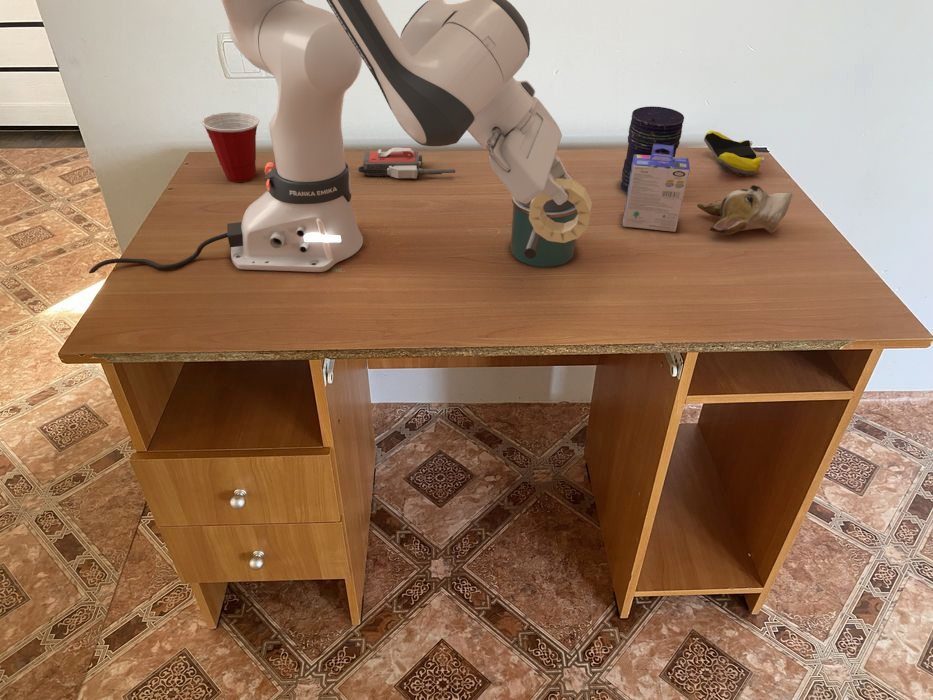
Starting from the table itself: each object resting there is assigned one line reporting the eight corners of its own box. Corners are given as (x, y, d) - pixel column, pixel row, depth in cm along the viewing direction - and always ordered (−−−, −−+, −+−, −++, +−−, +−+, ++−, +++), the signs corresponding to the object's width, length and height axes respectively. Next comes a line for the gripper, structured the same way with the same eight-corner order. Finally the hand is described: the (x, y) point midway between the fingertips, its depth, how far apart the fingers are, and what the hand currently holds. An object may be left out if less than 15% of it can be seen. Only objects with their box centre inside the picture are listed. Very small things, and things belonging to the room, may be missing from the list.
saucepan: (515, 230, 125) (518, 178, 118) (579, 238, 123) (586, 186, 116) (490, 296, 108) (492, 240, 102) (563, 306, 106) (570, 250, 100)
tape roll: (527, 238, 99) (531, 184, 93) (530, 228, 101) (534, 175, 96) (585, 245, 97) (593, 191, 92) (587, 235, 99) (595, 181, 94)
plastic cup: (278, 177, 141) (268, 120, 133) (229, 192, 135) (215, 133, 128) (254, 161, 147) (243, 105, 140) (206, 174, 142) (192, 117, 134)
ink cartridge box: (676, 219, 128) (692, 144, 119) (677, 233, 124) (694, 157, 115) (622, 213, 130) (635, 139, 121) (622, 227, 126) (634, 152, 117)
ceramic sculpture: (805, 198, 116) (715, 200, 117) (793, 243, 121) (706, 245, 122) (785, 171, 124) (701, 174, 125) (774, 215, 130) (693, 217, 131)
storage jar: (629, 174, 144) (641, 102, 134) (675, 185, 140) (691, 112, 130) (612, 192, 137) (623, 118, 127) (660, 204, 133) (675, 129, 124)
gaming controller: (715, 181, 141) (764, 182, 141) (722, 156, 138) (772, 156, 138) (698, 152, 153) (742, 152, 153) (703, 128, 149) (749, 128, 149)
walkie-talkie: (357, 181, 140) (455, 179, 141) (356, 160, 137) (455, 159, 138) (360, 163, 147) (453, 162, 148) (359, 143, 144) (453, 142, 145)
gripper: (502, 130, 80) (576, 215, 85) (530, 77, 96) (591, 151, 100) (465, 162, 84) (538, 242, 88) (497, 106, 100) (558, 176, 104)
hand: (566, 193), depth 95 cm, fingers closed on tape roll, 3 cm apart
